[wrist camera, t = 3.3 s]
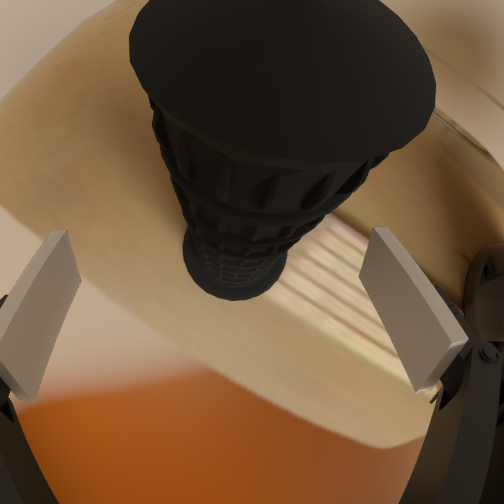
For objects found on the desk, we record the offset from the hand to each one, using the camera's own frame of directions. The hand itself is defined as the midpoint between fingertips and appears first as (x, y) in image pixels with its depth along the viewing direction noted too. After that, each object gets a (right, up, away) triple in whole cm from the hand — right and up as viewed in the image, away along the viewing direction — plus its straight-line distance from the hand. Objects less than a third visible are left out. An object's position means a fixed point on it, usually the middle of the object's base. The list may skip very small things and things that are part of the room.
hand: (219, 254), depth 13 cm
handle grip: (0, 0, +18) cm, 18 cm away
